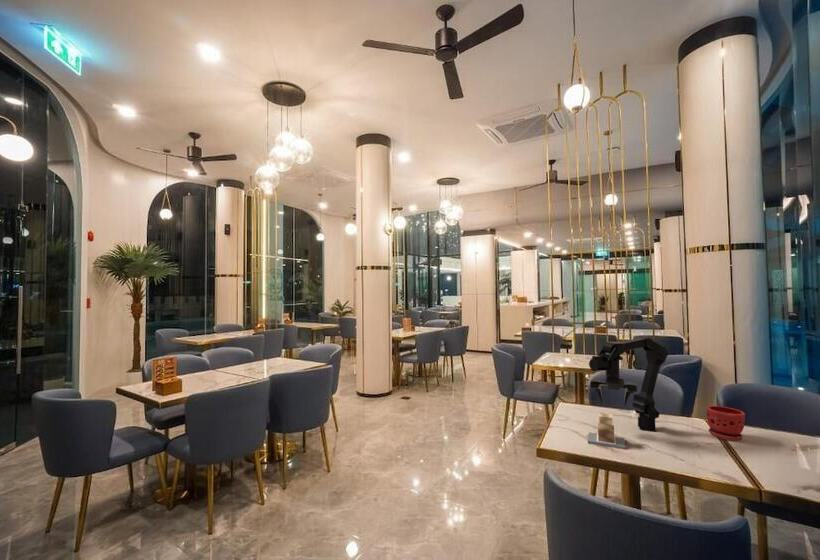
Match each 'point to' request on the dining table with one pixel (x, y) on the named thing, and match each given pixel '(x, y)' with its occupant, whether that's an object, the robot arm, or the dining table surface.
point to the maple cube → (605, 421)
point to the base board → (618, 442)
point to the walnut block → (606, 435)
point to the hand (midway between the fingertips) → (613, 404)
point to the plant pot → (725, 422)
